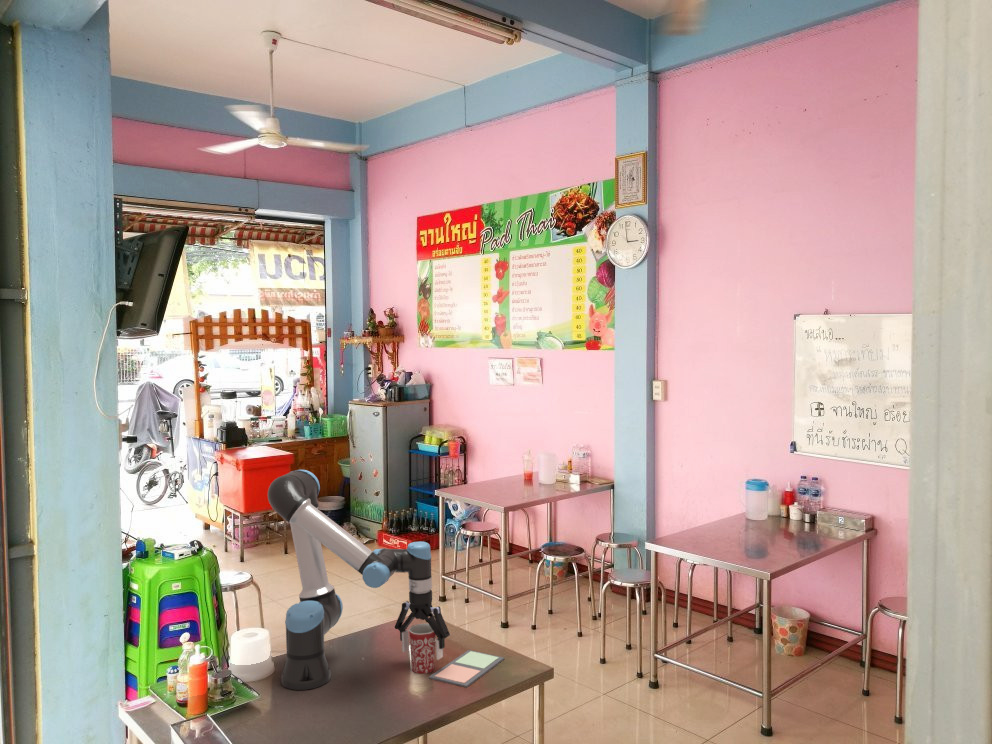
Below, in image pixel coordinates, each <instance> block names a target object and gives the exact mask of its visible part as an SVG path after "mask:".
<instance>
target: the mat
mask: <svg viewBox="0 0 992 744" xmlns="http://www.w3.org/2000/svg"><path fill="white" fill-rule="evenodd" d="M504 660H505V657H503V656H499V655H495V654H489V653H485V652H481V651H475V650H471V649H468V650H466V651H465V652H463V653H462V654H460V655H459V656H457V657H456V658H454V659H453V660H451V661H450V662H448V663H447V664H446V665H444V666H442V667H441V668H440V669H438V670H437V671H435V672H434V673H432V674H431V675H430V676H428V679H430V680H434V681H437V682H441V683H446V684H450V685H454V686H459V687H461V688H462V687H463V688H466V689H467V688H468V687H470V686H471V685H472V684H474V683H475V682H476V681H478V680H479V679H480V678H482V677H483V676H484V675H486V674H487V673H488V672H490V671H491V670H493V669H494V668H495V667H496V666H497V665H499V664H500V663H501V662H503V661H504Z"/></svg>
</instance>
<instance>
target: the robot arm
mask: <svg viewBox="0 0 992 744" xmlns="http://www.w3.org/2000/svg"><path fill="white" fill-rule="evenodd" d="M320 490H321V486H320V481H319V479H318V477H317V476H316V475H315V474H314V473H313V472H311V471H309V470H306V469H297V470H292V471H290V472H287V473H285V474H283V475H281V476H278V477H277V478H275V479H274V480H273V481H272V482H271V483H270V484H269V487H268V489H267V500H268V503H269V504H270V507H271V508H272V510H273V511H275V513H276V514H278V515H279V516H280V517H281V518H282V519H283V520H284V521H286V522H287V523H289V524H290V525H289V526H290V530H291V536H292V541H293V546H294V552H295V555H296V562H297V566H298V571H299V576H300V583H301V587H302V590H301V591H300V593H299V595H298V597H299V603H297V602H296V603H294V604H292V605H291V606H290V607H289V608H288V609H287V611H286V613H285V620H284V621H285V622H284V623H285V643H286V645H285V646H286V647H285V648H286V649H285V650H286V658H285V662H284V666H283V670H282V672H281V676H280V677H281V678H280V679H281V685H282V686H283V687H284V688H285V689H289V690H295V691H305V690H311V689H315V688H319V687H321V686H324V685H325V684H327V683H328V682H329V681H330V680H331V678H332V677H331V668H330V666H329V663H328V660H327V657H326V654H325V635H326V634H327V633H328V632H329V631H330V630H331V629H332V628H334V626H335V625H336V624H337V623H338V622H339V620H340V619H341V616H342V614H343V609H344V608H343V607H344V606H343V601H342V599H341V597H340V595H338V594H337V593H336V590H335V586H334V585H333V584H331V583H330V582H329V579H328V574H327V573H328V572H327V567H326V562H325V558H324V552H323V547H322V545H323V546H324V547H326V548H327V549H328V550H330V552H332V553H334V555H336V556H337V557H339V559H341V560H342V561H344V562H345V563H346V564H348V565H349V566H350V567H352V568H353V569H354V570H355V571H357V572H358V573H359V574H360V575H361V577H362V580H363V582H364V584H365V585H366V586H367V587H369V588H372V589H377V588H381V586H383V585H384V584H386V583H387V582H388V581H389V580H390V578H391V577H392V576H393V575H394V573H404V574H405V573H407V574H408V590H409V592H408V597H409V598H408V600H406V601H405V602H403V603H402V604H401V610H400V612H399V615H398V617H397V620H396V622H395V624H394V629H395V630H398V632H399V640H400V641H401V651H402V653H406V652H407V651H409V650H410V633H409V629H408V627H409V626H410V624H412V622H413V621H414V619H417V620H419V619H420V620H421V621H425V622H426V623H427V624H429V625H430V627H431V628H432V630H433V631H434V633H435V634H436V637H437V638H436V639H435V657H436V660H438V661H439V660H440V659H442V658H443V657H444V648H445V646H446V645H445V643H446V642H445V639H446V638H448V637H449V636H451V635H450V630H449V629H448V626H447V623H446V621H445V619H444V617H443V614H442V608H441V606H436V607H435V606H433V604H432V602H433V591H432V589H433V582H432V581H433V579H432V578H433V577H432V553H431V552H432V551H431V545H430V544H429V543H428V542H426V541H413V542H410V543H408V545H407V548H376V549H373V550H371V549H370V548H369V547H367V546H366V545H365V544H363V543H362V542H361V541H359V540H358V539H357V538H356V537H354V535H352V534H351V533H349V532H348V531H347V530H345V528H343V527H341V526H340V525H339V524H338V523H336V521H334V520H333V519H331V518H330V517H328V515H326V514H325V513H323V512H322V511H321V510H319V507H320V505H319V501H318V500H319V499H318V496H319V493H320ZM409 610H410V611H411V612H410V614H408V612H409ZM407 615H408V617H407V618H406V616H407ZM405 619H406V620H405Z"/></svg>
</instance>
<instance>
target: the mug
mask: <svg viewBox="0 0 992 744" xmlns="http://www.w3.org/2000/svg"><path fill="white" fill-rule="evenodd" d="M408 634H409V649H410V659H411V660H410V661H411V670H412V672H413V673H415V674H419V675H422V674H423V675H425V674H428V673H429V674H430V673H432V672H433V671H434V669H435V658H436V639H437V638H436V637H437V636H436V634H435V633H434V631H433V630H432V628H431V627H430V625H429V624H428V623H418V624H417V623H416V624H414V625H412V626H410V627H409V628H408Z"/></svg>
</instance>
